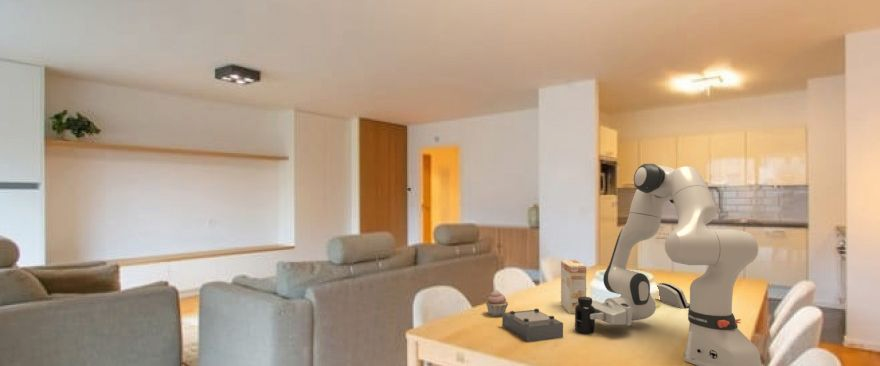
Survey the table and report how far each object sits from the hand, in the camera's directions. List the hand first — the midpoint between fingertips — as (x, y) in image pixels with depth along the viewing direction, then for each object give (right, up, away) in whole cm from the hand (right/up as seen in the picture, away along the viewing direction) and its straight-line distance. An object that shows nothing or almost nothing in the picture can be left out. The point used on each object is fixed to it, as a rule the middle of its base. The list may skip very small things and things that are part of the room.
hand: (582, 313), depth 168 cm
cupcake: (-28, -7, +22) cm, 36 cm away
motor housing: (-19, -7, +1) cm, 20 cm away
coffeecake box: (+5, -7, +30) cm, 32 cm away
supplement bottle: (+1, -7, 0) cm, 7 cm away
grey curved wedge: (+51, -7, +40) cm, 65 cm away
